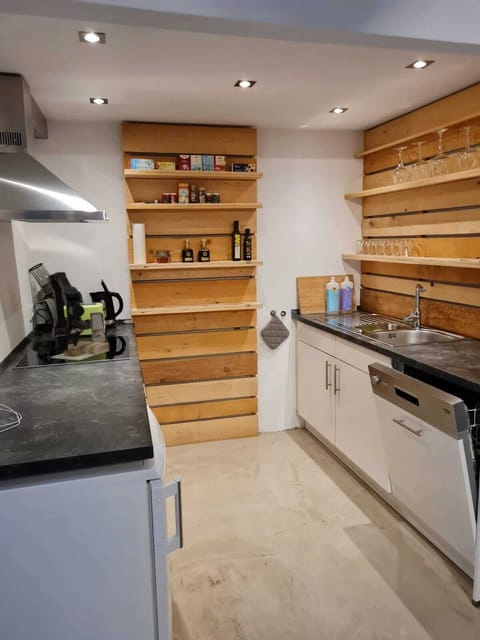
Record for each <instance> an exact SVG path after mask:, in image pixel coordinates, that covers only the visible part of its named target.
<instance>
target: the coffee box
mask: <svg viewBox="0 0 480 640" xmlns="http://www.w3.org/2000/svg"><path fill="white" fill-rule="evenodd" d="M89 317H90V318H89V319H90V320H91V331H90V332H91V340H92V342H99V343H105V342H106V336H105V335H106V334H105V324H104V323H105V321H104V320H105V319H104V314H103V312H101V311H98V312H90V313H89Z"/></svg>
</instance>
